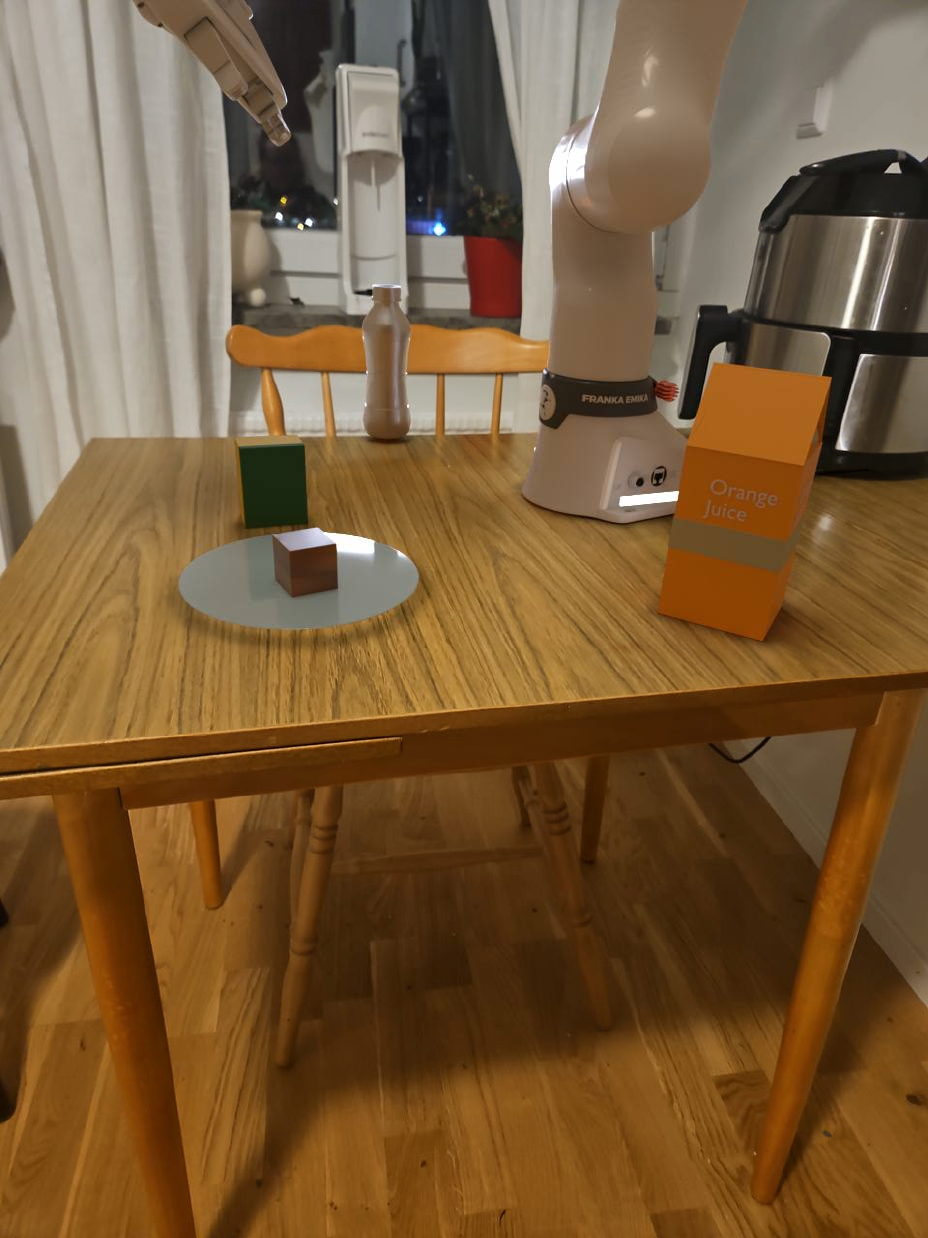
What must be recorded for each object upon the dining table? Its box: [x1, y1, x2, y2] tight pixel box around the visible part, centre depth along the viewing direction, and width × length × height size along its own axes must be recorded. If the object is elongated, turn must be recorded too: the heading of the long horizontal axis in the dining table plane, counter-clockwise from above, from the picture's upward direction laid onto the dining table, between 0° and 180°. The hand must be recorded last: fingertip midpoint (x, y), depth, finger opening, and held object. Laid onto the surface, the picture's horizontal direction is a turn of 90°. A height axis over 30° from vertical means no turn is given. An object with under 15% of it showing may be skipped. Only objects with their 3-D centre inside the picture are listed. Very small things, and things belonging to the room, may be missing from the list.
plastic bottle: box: [361, 284, 412, 441], centre depth 110 cm, size 6×7×20 cm
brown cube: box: [272, 527, 338, 597], centre depth 66 cm, size 4×4×4 cm
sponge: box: [233, 434, 309, 530], centre depth 79 cm, size 6×4×9 cm, turn 111°
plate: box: [177, 532, 420, 631], centre depth 69 cm, size 20×20×1 cm
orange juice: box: [656, 361, 833, 642], centre depth 65 cm, size 8×9×20 cm
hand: (261, 117), depth 69 cm, fingers open, 8 cm apart
